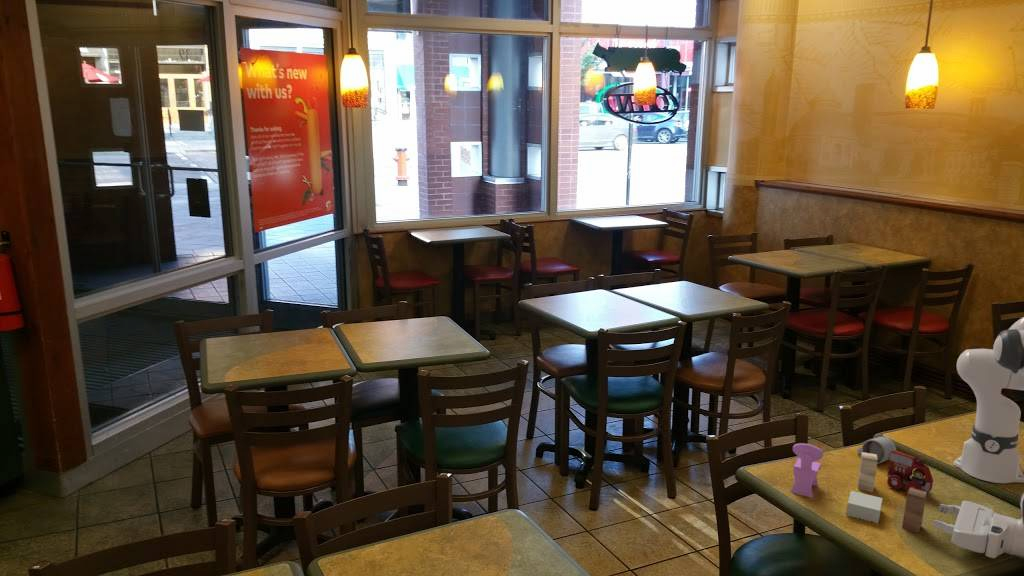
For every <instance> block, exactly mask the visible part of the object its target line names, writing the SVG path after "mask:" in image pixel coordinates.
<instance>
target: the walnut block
mask: <svg viewBox="0 0 1024 576" xmlns="http://www.w3.org/2000/svg"><path fill="white" fill-rule="evenodd" d="M927 493H928V492H925V491H922V490H917V489H913V488H910V489H909V491H908V493H907V492H906V498H905V499H906V500H905V505H904V513H903V517H902V518H903V519H902V526H901V528H902V529H905V530H908V531H912V532H914V533H915V532H916V533H918V532H919V533H920V530H921V529H922V527H923V526H922V525H923V518H924V513H925V507H926V501H927V500H926V499H927ZM920 528H921V529H920Z"/></svg>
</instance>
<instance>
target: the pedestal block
mask: <svg viewBox="0 0 1024 576" xmlns="http://www.w3.org/2000/svg"><path fill="white" fill-rule="evenodd" d="M882 504H883V497H879V496H875V495H870V494H866V493H863V492H858V491H854V490H850V493H849V497H848V501H847V506H846V513H845V515H846V516H848V517H851V516H852V518H855V517H856V519H859V518H861V519H860V520H863V519H865V520H864V521H867V520H868V522H871V521H873V522H872V523H875V522H876V523H875V524H879V522H878V521H880V516H881V511H882Z"/></svg>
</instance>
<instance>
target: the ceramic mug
mask: <svg viewBox="0 0 1024 576" xmlns="http://www.w3.org/2000/svg"><path fill="white" fill-rule="evenodd" d="M896 446H897V445H896V444H895V442H894V441H893V439H891V438H890V437H886V436H878V437H874V438H870V439H868V440H865V441H864V442H863V444H862V446H861V447H859V448H856V451H857V454H858V455H861V454H862V452H864V453H870V454H877V459H878V461H877V465H879V464H882V463H885V462H886V461H890V460H889V453H890V452H891V451H892V450H895V451H897V447H896Z"/></svg>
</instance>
